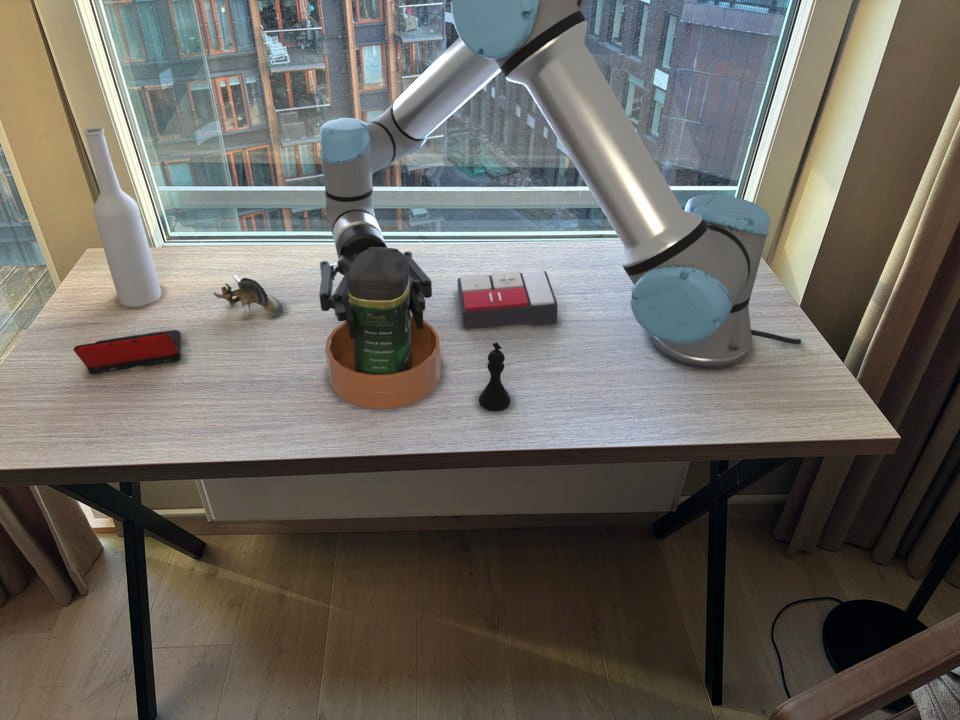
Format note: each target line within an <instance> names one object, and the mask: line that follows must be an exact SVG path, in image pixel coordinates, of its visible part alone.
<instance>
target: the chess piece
mask: <svg viewBox="0 0 960 720" xmlns="http://www.w3.org/2000/svg"><path fill="white" fill-rule="evenodd" d="M491 345H492V347H493V348H494V349H493V350H491V351H490V352H489V353H488V354H487V361H488V362H487V365H486V367H487V370H488V371H489V374H490V378H489V381H488V382H487V384H486V386H485V388H483V390H482V391H481V393H480V395H479V396H478V404H479V405H480V407H481V408H482V409H484V410H486V411H489V412H502V411H504V410H506V409H508V408H509V407H510V405H511V396H510V395H509V393H508V391H507V389H506V388H505V386H504V385H503V382H502V379H501V376H502V373H503V371H504V369H505V364H504V362H505V360H506V356H505V354H504V352H503V351H501V350H502V346H501V345H500V344H499V342H493V343H491Z"/></svg>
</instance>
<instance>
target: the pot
mask: <svg viewBox="0 0 960 720" xmlns="http://www.w3.org/2000/svg"><path fill="white" fill-rule="evenodd" d="M410 317H411V347H412V366H411V369H410V370H408V371H403V372H399V373H394V374H385V375H371V374H365V373H359V372H355V363H354V346H353V338H352V339H351V338H350V334H349V330H348V326H347V322H346V321H342V323H340V324H339V325H337V326H336V327H335V328H333V329H332V331H331V332H330V334H329V335H328V336H327V338H326V341H325V347H324V351H325V358H326V367H327V375H328V380H329V384H330V387H331V389H332V390H333V391H334V393H335V394H336V395H337V396H338V397H340V398H341V399H342V400H344V401H346V402H348V403H349V404H352V405H355V406H357V407H361V408H366V409H375V410H387V409H388V410H389V409H397V408H402V407H405V406H409V405H412V404H414V403H416V402H418V401H420V400H423V399H424V398H425V397H427V396H428V395H429V394H431V393H432V392H433V391H434V389H436V387H437V385H438V384H439V382H440V379H441V376H442V375H441V374H442V370H441V369H442V365H441V361H442V360H441V359H442V358H441V336H440V334H439V333H438V331H437V330H436V328H435V326H434V325H432V324H431V323H430V322H428V321H427V320H425V319H423V329H418V328H417V326H416V323H415V321H414V318H413V315H412V314H410Z"/></svg>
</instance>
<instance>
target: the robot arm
mask: <svg viewBox="0 0 960 720" xmlns="http://www.w3.org/2000/svg"><path fill="white" fill-rule="evenodd" d="M587 2H588V0H451V2H450V9H451V10H450V11H451V16H452V22H453V25H454V28H455V31H456V32H457V35H458V36H459V37H458V38H457V39H456V40H455V41H454V42H453V43H452V44H451V45H450V46H448V48H447V49H445V50H444V52H443V53H442V54H441V55H440V56H439V57H438V58H437V59H436V60H435V61H434V62H432V64H431V65H430V66H429V67H428V68H427V69H426V70H425V71H424V72H423V73H422V74H421V75H420V76H419V77H418V78H416V80H415V81H413V83H412V84H410V86H409V87H408V88H407V89H406V90H405V91H404V92H403V93H402V94H401V95H400V96H399V97H398V98H397V99H395V100H394V102H393V103H392V104H391V105H390V106H388V108H387V109H386V110H385V111H384V112H383V113H382V114H380V115H378V117H375V118H373V119H371V120H369V121H367V122H365V121H363V120H361V119H359V118H355V117H339V118H338V119H330V120H328V121H326V122H324V123H323V124H322V126H321V127H320V131H319V136H320V141H319V142H320V150H319V153H320V157H321V165H322V174H323V181H324V189H325V193H324V194H325V204H324V205H325V206H324V211H325V218H326V221H327V223H328V225H329V228H330V231H331V236H332V238H333V243H334V247H335V250H336V254H337V258H338V260H337V262H335V263H330V262H329V261H327V260H322V261H321V260H320V262H319V269H320V277H321V280H320V288H319V293H318V294H319V305H320V310H321V311H323V312H328V311H330V309H333V310H334V315H335V317H336V319H337V321H338V322H345V321H346V322H347V326H348V330H349V334H350V338H351V339H352V338H356V328H355V319H354V316H353V312H352V308H351V305H350V299H349V293H348V277H347V275H348V273H349V270H350V268H351V265H352V263H353V261H354V260H355V258H356V257H357V256H358V255H359V254H360V253H362V252H363V251H365V250H367V249H368V248H369V247H383V248H388V245H387V243H386V240H385V238H384V235H383V233H382V230H381V228H380V226H379V223H378V220H377V218H376V217H377V216H376V215H375V208H374V207H375V206H374V186H373V174H375V173H377V172H379V171H381V170H383V169H384V168H386V167H388V166H390V165H391V164H393V163H395V162H397V161H398V160H401V159H402V158H404V157H407V156H409V155H412V154H413V153H415V152H416V151H418V150H419V149H420V148H422V147H423V146H424V144H425V143H426V142H427V140H428V137H429V135H431V133H433V132H434V131H435V130H436V129H437V128H438V127H440V126H441V125H442V124H443V123H444V122H445V121H446V120H447V119H449V118H450V117H451V116H453V114H454V113H455V112H456V111H458V110H459V109H461V107H462V106H463V105H464V104H465V103H466V102H468V101H469V100H470V99H471V98H472V97H474V96H475V95H476V94H477V92H478V93H479V91H480V90H482V88H483V87H485V86H486V85H487V84H488V83H489V82H490V81H492V79H493V78H495V77H496V76H497V75H498V74H499V73H500V72H501V73H502V74H503V76H504V78H505V79H506V80H507V82H512V83H516V84H520V85H523V86H524V87H525V88H526V89H527V91H528V93H529V94H530V96H531V97H532V100H533V101H534V102H535V104H536V105H537V107H538V109H539V110H540V112H541V114H542V116H544V117H543V118H545V121H547V123H548V125H549V126H550V128H551V130H552V132H553V133H554V134H555V136H556V138H557V140H558V141H559V143H560V144H561V147H562V148H563V149H564V151H565V152H566V154H567V156H568V157H569V159H570V161H571V162H572V164H573V165H574V167H575V168H576V171H577V172H578V173H579V176H580V177H581V178H582V181H584V183H585V185H586V186H587V188H588V190H589V191H590V193H591V194H592V196H593V198H594V199H595V201H596V202H597V204H598V206H599V207H600V209H601V211H602V213H603V214H604V216H605V217H606V219H607V221H608V222H609V224H610V225H611V227H612V228H613V230H614V232H615V233H616V235H617V237H618V239H619V240H620V242H621V243H622V245H623V253H622V256H621V262H620V264H621V266H622V268H623V269H624V271H625V273H626V274H627V276H628V278H629V280H630V281H631V282H632V284H633V285H632V289H631V296H630V297H631V298H630V309H631V312H632V314H633V316H634V318H635V320H636V322H637V323H638V324H639V325H640V327H641V328H642V329H643V330H645V332H647V333H648V336H649V340H650V342H651V344H652V345H653V347H654V348H655V349H656V350H657V351H658V352H659V353H660V354H662V355H663V356H664V357H666V358H668V359H670V360H671V361H674V362H676V363H679V364H681V365H684V366H687V367H691V368H696V369H705V370H719V369H726V368H730V367H733V366H736V365H738V364H740V363H742V361H744V360H745V359H746V358H747V357H748V355H749V353H750V349H751V345H752V341H753V336H756V337H761V338H766V339H769V340H770V339H771V340H774V341H778V342H782V343H787V344H792V345H801V344H802V339H801V338H791V337H787V336H782V335H779V334H774V333H769V332H765V331H759V330H754V329H752V327H751V326H752V325H751V317H750V309H749V305H750V301H751V296H752V294H753V289H754V286H755V282H756V278H757V274H758V271H759V266H760V263H761V259H762V255H763V252H764V247H765V244H766V240H767V236H769V235H770V231H769V230H770V223H771V216H770V214H769V212H768V211H767V210H766V209H765V208H764V207H762V206H760V205H759V204H757V203H755V202H752V201H751V200H750V201H749V200H747V199H743V198H740V197H735V196H730V195H723V194H700V195H696V196H693V197H692V198H690V199H688V201H687V202H686V204H685V207H684V209H683V208H682V205H681V204H680V202H679V201H678V199H677V197H676V196H675V194H674V192H673V191H672V189H671V187H670V186H669V184H668V182H667V181H666V179H665V177H664V175H663V174H662V172H661V170H660V169H659V167H658V165H657V163H656V162H655V160H654V159H653V157H652V154H651V153H650V151H649V150H648V148H647V147H646V145H645V142H644V141H643V139H642V137H641V136H640V135H639V133H638V132H637V129H636V128H635V126H634V125H633V123H632V121H631V119H630V118H629V116H628V114H627V113H626V111H625V110H624V108H623V106H622V104H621V103H620V101H619V100H618V97H617V95H616V94H615V92H614V91H613V89H612V88H611V86H610V84H609V82H608V81H607V79H606V77H605V75H604V74H603V72H602V71H601V69H600V67H599V65H598V63H597V62H596V60H595V59H594V57H593V55H592V53H591V52H590V51H589V48H588V46H587V44H586V36H587V35H586V34H587V30H588V25H589V23H588V21H587V19H586V17H585V16H584V14H583V10H584V8H585V7H586V4H587ZM403 254H404V255H405V256H406V257H407V259H408V262H409V276H410V314H411V315H413V318H414V321H415V323H416V326H417V328H418V329H423V320H424V311H426V299H430V298H431V297H432V296H433V287H432V286H433V285H432V284H433V283H432V279H431V278H430V277H429V276H428V275H427V274H426V272H425V271H424V270H423V269H422V267H420V266H419V264H418V263H417V262H416V261H415V259H414V258H413V252H411V251H408V250H407V251H404V252H403ZM338 273H339V274H341V275H342V276H343V277H342V278H341V280H340V282H339V283H338V285H337V287H336V289H335V290H334V293H333V288H334V280H336V276H337V274H338Z"/></svg>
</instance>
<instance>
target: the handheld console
mask: <svg viewBox="0 0 960 720" xmlns="http://www.w3.org/2000/svg"><path fill="white" fill-rule="evenodd" d="M181 348H182V334H181V332H180V331H179V330H178V329H171V330H170V329H169V330H164V331H155V332H149V333H141V334H134V335H128V336H127V335H126V336H122V337H114V338H109V339H102V340H101V339H100V340H97V341H95V342H93V343H84V344H79V345H76V346H74V347H73V352H74V353H75V354H76V355H77V357H78V358H79V359H80V360H81V362H82V363H83V364H84V365H85V367H86V369H87V371H88V373H89V374H90V375H99V374H103V373H109V372H115V371H123V370H128V369H132V368H135V367H149V366H154V365H163V364H168V363H175V362H179V361H180V360H181V359H182V356H181V355H182V353H181V352H182V349H181Z"/></svg>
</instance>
